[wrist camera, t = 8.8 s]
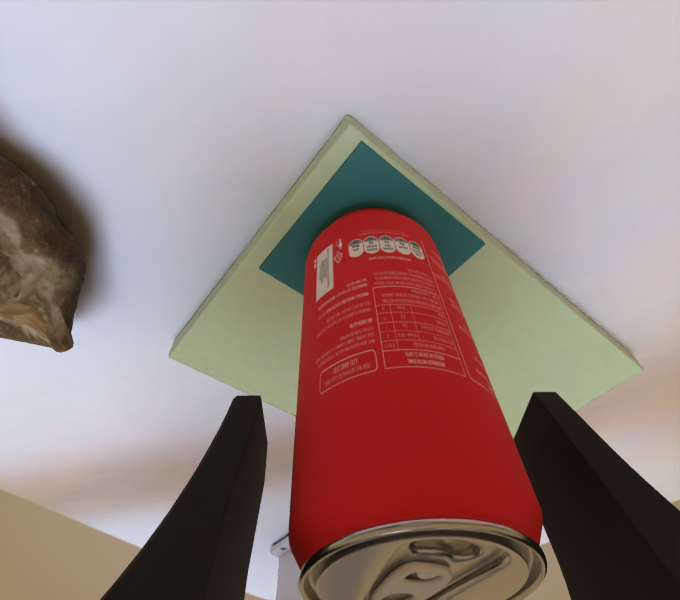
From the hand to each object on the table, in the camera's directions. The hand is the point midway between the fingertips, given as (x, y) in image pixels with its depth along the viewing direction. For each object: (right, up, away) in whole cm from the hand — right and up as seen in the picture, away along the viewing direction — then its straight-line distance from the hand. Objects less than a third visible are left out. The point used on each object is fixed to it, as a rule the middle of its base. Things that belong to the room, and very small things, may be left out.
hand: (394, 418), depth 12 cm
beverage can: (0, +5, +6) cm, 8 cm away
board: (+2, +1, +11) cm, 11 cm away
